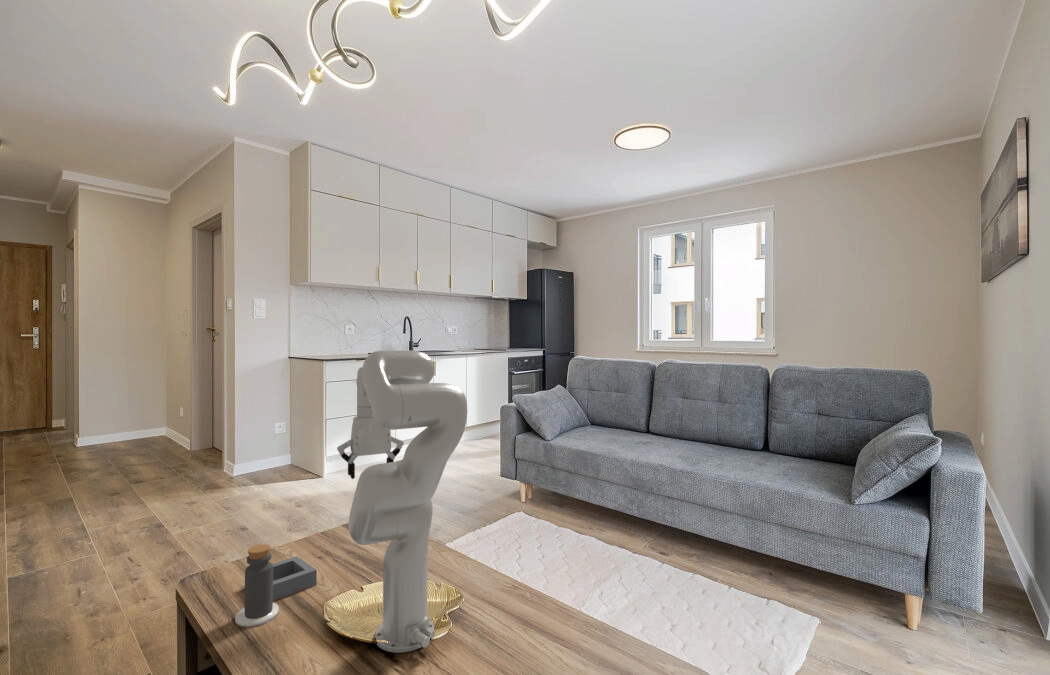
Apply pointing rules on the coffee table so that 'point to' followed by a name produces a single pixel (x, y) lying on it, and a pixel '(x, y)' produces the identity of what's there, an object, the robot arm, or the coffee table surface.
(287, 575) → the square frame
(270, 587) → the bottle
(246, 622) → the white round part
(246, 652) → the coffee table surface
